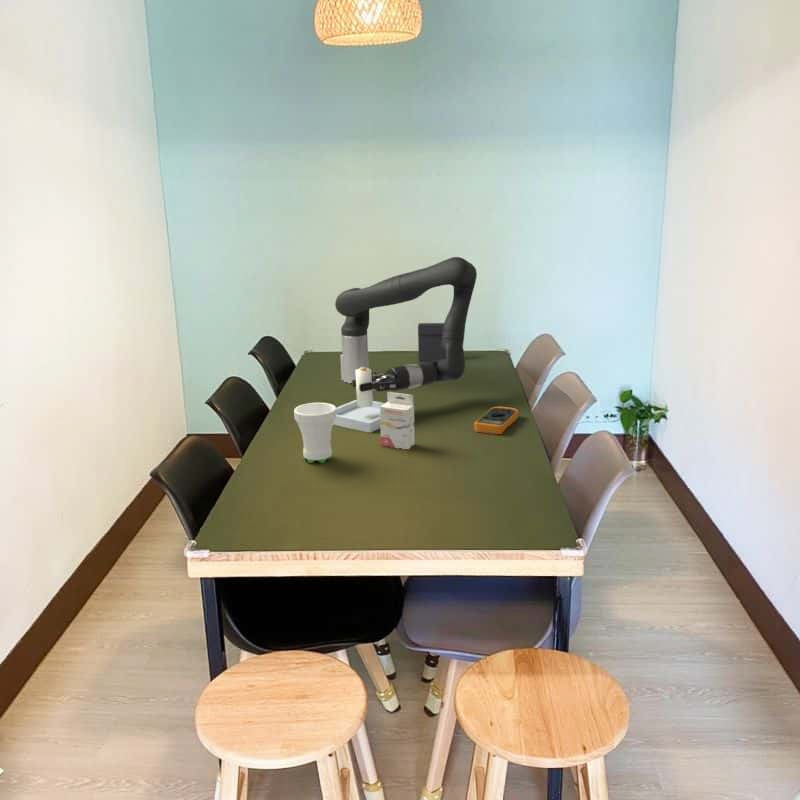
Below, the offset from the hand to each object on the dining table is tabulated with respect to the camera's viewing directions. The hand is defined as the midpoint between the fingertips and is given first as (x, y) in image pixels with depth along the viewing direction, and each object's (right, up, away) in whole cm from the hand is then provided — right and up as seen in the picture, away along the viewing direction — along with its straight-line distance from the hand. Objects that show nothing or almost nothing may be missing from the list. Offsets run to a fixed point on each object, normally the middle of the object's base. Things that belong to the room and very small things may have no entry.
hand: (356, 386), depth 238 cm
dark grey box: (+26, +11, +72) cm, 77 cm away
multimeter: (+42, -12, -3) cm, 44 cm away
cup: (-9, -20, -26) cm, 35 cm away
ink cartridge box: (+13, -17, -18) cm, 28 cm away
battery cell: (+3, -6, +3) cm, 7 cm away
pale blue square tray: (+2, -10, +5) cm, 11 cm away
